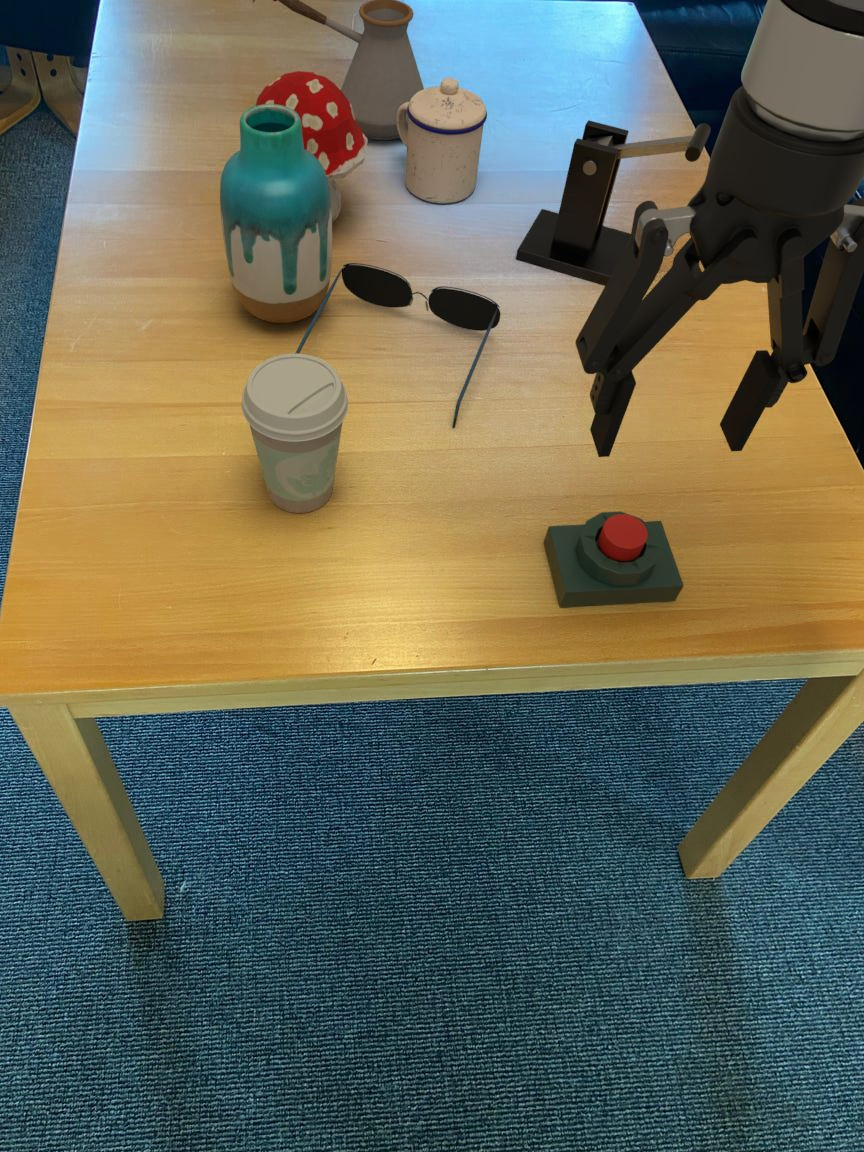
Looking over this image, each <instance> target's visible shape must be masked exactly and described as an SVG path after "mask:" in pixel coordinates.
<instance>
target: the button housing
mask: <svg viewBox="0 0 864 1152" xmlns="http://www.w3.org/2000/svg"><path fill="white" fill-rule="evenodd" d="M617 514H626V515H630V516H633V517H635V518H637V519H638V520H640V521H641V522H642V523H643V524H644V525H645V527H646V529H647V533H648V537H647V540H646V542H645V544H644V546H643V549H642V551H641V553H640V554H639V556H638V557H636V558H635V559H633V560H631V561H616V560H613V559H611V558H609V557H608V556H606V555H605V554H604V553H603V552H602V551H601V549H600V547H599V544H598V538H599V535H600V533H601V530H602V528H603V525H604V523H605V521H606V520H607V519H608V518H610V517H611V516H614V515H617ZM543 546H544V550H545V553H546V557H547V561H548V566H549V569H550V574H551V578H552V582H553V585H554V589H555V593H556V598H557V601H558V606H559V608H576V607H593V606H595V607H596V606H611V605H627V604H629V605H630V604H645V603H647V604H648V603H662V602H676V600H677V599H678V597H679V595H680V594H681V592H682V590H683V588H684V587H685V586H684V582H683V580H682V576H681V574H680V571H679V568H678V565H677V562H676V559H675V556H674V554H673V551H672V548H671V545H670V542H669V539H668V536H667V534H666V531H665V528H664V525H663V522H662V520H647V521H645V520H644V519H642V518H641V517H638V516H635V515H632V514H629V513H626V512H623V511H601V512H600V513H597V514H596V515H595V516H593V517H591V518H589V519H588V520H586V521H585V522H584V524H568V525H566V524H565V525H549V526H548V527H547V530H546V534H545V536H544V539H543Z"/></svg>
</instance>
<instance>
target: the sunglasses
mask: <svg viewBox="0 0 864 1152" xmlns="http://www.w3.org/2000/svg"><path fill="white" fill-rule="evenodd" d="M340 276H341V279H342V282H343V285H344V287H345V288H346V289H347V290H348V291H349V292H350V293H351V294H352V295H354V296H355V297H357V298H358V299H360V300H362V301H364V302H365V303H368V304H371V305H375V306H379V307H382V308H383V307H384V308H393V309H396V308H406V307H408V306H409V307H411V305H412V304H413V302H414V299H415V298H414V297H413V295H416V294H418V295H420V296H422V297H423V298H424V299H425V301H424V302H425V303H424V305H425V309H426V311H427V312H428V311H429V310H430V311H431V313H432V314H433V315H434V316H436V317H437V318H439V319H440V320H443V321H444V322H445V323H448V324H450V325H453V326H454V327H458V328H460V329H461V328H462V329H465V330H469V331H476V332H482V331H485V334H484V336H483V338H482V341H481V344H480V345H479V348H478V350H477V352H476V355H475V357H474V360H473V362H472V365H471V367H470V369H469V371H468V374H467V377H466V379H465V381H464V383H463V386H462V388H461V391H460V393H459V396H458V398H457V400H456V404H455V409H454V416H453V422H452V429H454V428H456V425H457V421H458V417H459V413H460V412H459V411H460V407H461V403H462V401H463V398H464V397H465V394H466V392H467V391H466V390H467V389H468V386H469V383H470V382H471V379H472V378H473V377H472V376H473V374H474V371H475V369H476V367H477V364H478V362H479V360H480V357H481V354H482V352H483V350H484V347H485V345H486V343H487V340H488V338H489V335H490V332H491V330H493V329H495V328H497V326H498V325H499V323H500V320H501V310H500V309H501V307H500V305H499V304H498V303H497V302H496V301H495V300H493V299H492V298H490V297H488V296H485V295H483V294H480V293H477V292H476V291H475V292H474V291H471V290H468V289H467V290H466V289H465V288H460V287H453V286H445V285H443V286H437V287H435V288H433V289H432V290H430V294H429V295H428V297H427V296H426V295H425V294H424V293H422V292H420V291H415V292H413V290H412V288H411V287H412V285H411V283H410V282H409V281H408V279H406V278H405V277H404V276H403V275H400V274H399V273H396V272H394V271H392V270H389V269H387V268H384V267H380V266H376V265H371V264H367V263H359V262H348V263H344V264H343V265H342V267H341V269H340V270H339V272H338V273H337V275H336V276H335V278H334V280H333V282H332V284H331V285H330V287H329V288H328V291H327V294H326V296H325V298H324V300H323V302H322V304H321V305H320V306H319V307H318V309H317V310H316V311H317V312H316V313H315V315H314V317H313V319H312V320H311V322H310V324H309V325H308V328H307V330H306V332H305V334H304V336H302V339H301V341H300V343H299V345H298V347H297V348H296V351H295V353H297V354H301V351H302V349H303V348H304V345H305V343H306V342H307V340H308V338H309V336H310V334H311V332H312V330H313V329H314V327H315V325H316V323H317V321H318V319H319V317H320V315H321V314H322V311H323V310H324V307H325V305H326V304H327V302H328V300H329V298H330V296H331V294H332V292H333V290H334V288H335V286H336V285H337V282H338V280H339V278H340Z"/></svg>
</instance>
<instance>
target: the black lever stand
mask: <svg viewBox="0 0 864 1152" xmlns="http://www.w3.org/2000/svg"><path fill="white" fill-rule="evenodd" d="M628 135H629V130H628V129H624V128H620V127H617V126H612V125H608V124H604V123H600V122H597V121H593V120H587V121H586V122H585V126H584V129H583V134H582V137H581V138H578V137H577V138H576V140H575V141H574V143H573V147H572V152H571V155H570V156H571V157H570V161H569V165H568V170H567V173H566V179H565V183H564V188H563V192H562V197H561V201H560V205H559V210H558V212H555V211H551V210H547V209H545V208H541V210H540V211H539V213H538V215H537V216H536V217H535V219H534V220H533V223H532V225H531V226H530V228H529V229H528V231H527V233H526V235H525V236H524V238H523V240H522V241H521V243H520V244H519V247H518V248H517V251H516V255H515V259H516V260H517V261H518V260H519V261H522V262H525V263H528V264H532V265H535V266H539V267H542V268H545V269H549V270H552V271H556V272H559V273H562V274H566V275H569V276H572V277H576V278H579V279H582V280H586V281H590V282H593V283H596V284H600V285H603V286H605V285H606V284H607V282H608V280H609V278H610V276H611V274H612V272H613V271H614V269H615V267H616V265H617V263H618V261H619V260H620V258H621V256H622V254H623V252H624V250H625V248H626V247H627V245H628V243H629V241H630V237H631V232H626V231H622V230H619V229H615V228H613V227H608V226H605V225H604V223H605V220H606V216H607V212H608V208H609V205H610V200H611V197H612V193H613V190H614V186H615V183H616V180H617V175H618V172H619V168H620V164H621V160H622V159H616V158H617V154H618V151H619V149H616V148H613V147H609V146H605V145H601V144H597V143H594V142H590V141H586V139H591V138H599V137H607V136H613V145H619V144H627V139H628Z"/></svg>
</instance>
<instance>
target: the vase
mask: <svg viewBox="0 0 864 1152" xmlns="http://www.w3.org/2000/svg"><path fill="white" fill-rule="evenodd" d="M239 142H240V143H239V150H237V151H235V153H233V154H232V155H231V156H230V157H229V159H228V160H227V161H226V162H225V164H224V167H223V169H222V172H221V176H220V186H219V206H220V207H219V208H220V220H221V229H222V238H223V246H224V252H225V258H226V259H225V260H226V263H227V269H228V273H229V279H230V282H231V285H232V289H233V291H234V293H235V295H236V297H237V299H238V301H239V302H240V304H241V305H242V306H243V307H244V308H245V310H247V311H248V312H249V313H250V314H251V315H253V316H255V317H256V318H257V319H260V320H263V321H266V322H271V323H277V324H289V323H293V322H298V321H301V320H305V318H308V317H310V316H311V315H312V314H314V312H316V311H318V309H319V307H320V305H321V304H322V302H323V300H324V298H325V296H326V294H327V293H328V291H329V288H330V287H329V286H330V284H331V283H330V282H331V276H332V262H333V223H332V212H331V198H330V190H329V184H328V179H327V176H326V173H325V170H324V168H323V166H322V165H321V163H320V161H319V160H318V159H317V158H316V157H315V156H314V155H313V154H311V153H310V152H308V151H307V150H305V149H304V144H303V135H302V124H301V119H300V117H299V115H298V114H297V113H296V112H295V111H294V110H292V109H290V108H288V107H286V106H282V105H276V104H263V105H258V106H255V105H254V106H252V107H249V108H248V109H246V110H244V112H243V113H241V116H240V118H239Z"/></svg>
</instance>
